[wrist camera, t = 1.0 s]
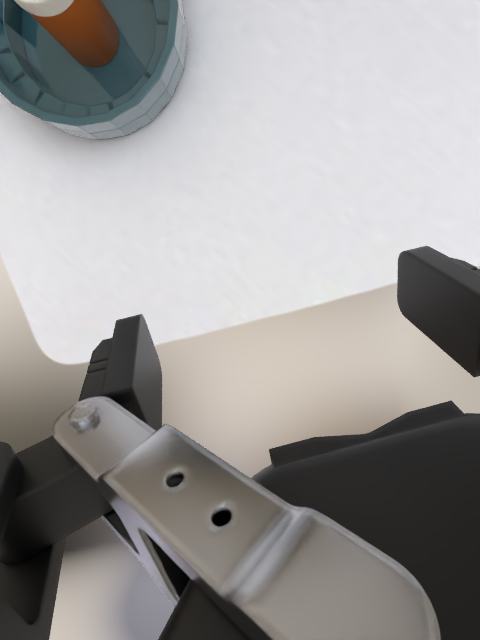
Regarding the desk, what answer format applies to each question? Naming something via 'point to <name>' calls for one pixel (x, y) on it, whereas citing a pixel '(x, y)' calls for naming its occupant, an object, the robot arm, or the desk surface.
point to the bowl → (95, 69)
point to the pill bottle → (78, 27)
